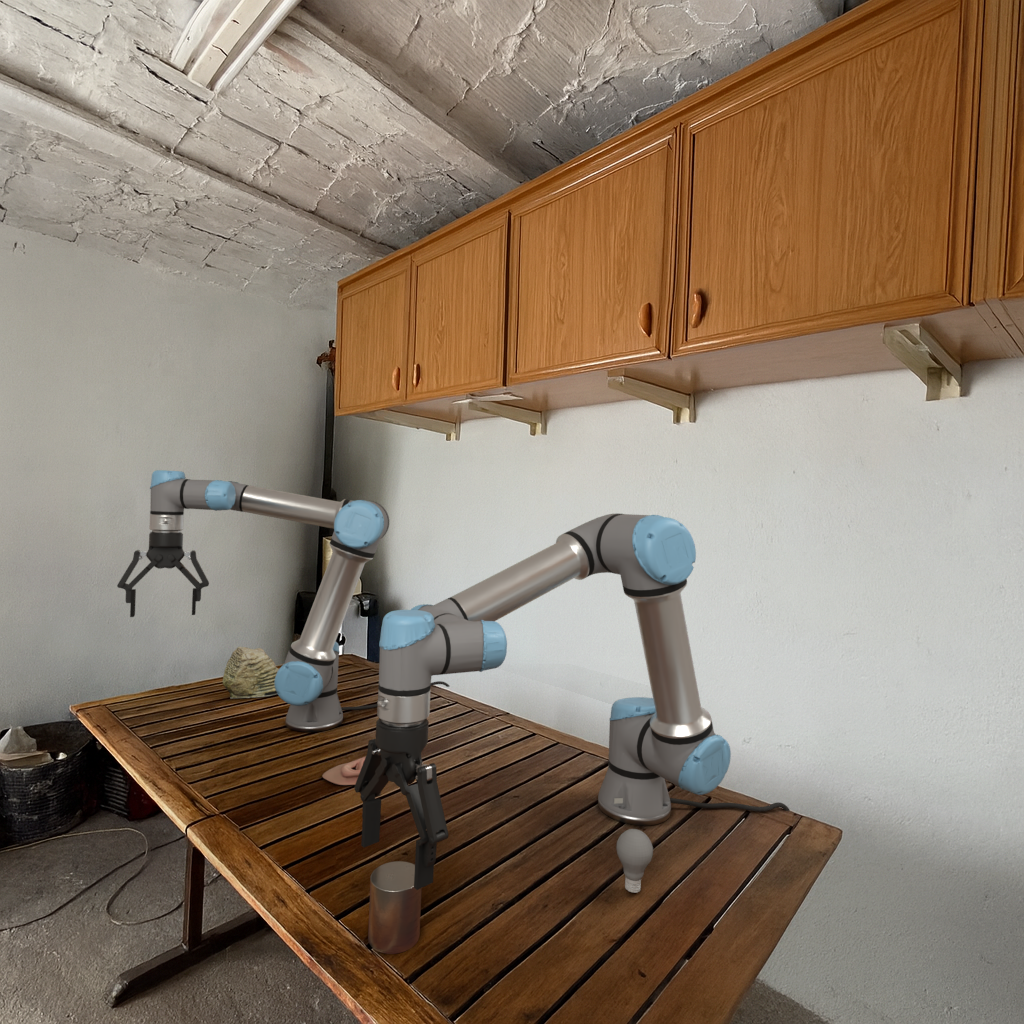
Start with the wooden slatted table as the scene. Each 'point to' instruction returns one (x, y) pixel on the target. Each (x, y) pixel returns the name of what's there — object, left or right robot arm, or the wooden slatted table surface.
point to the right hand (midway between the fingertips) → (395, 863)
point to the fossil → (250, 674)
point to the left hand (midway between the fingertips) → (163, 615)
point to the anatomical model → (345, 773)
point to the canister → (394, 908)
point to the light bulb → (634, 857)
